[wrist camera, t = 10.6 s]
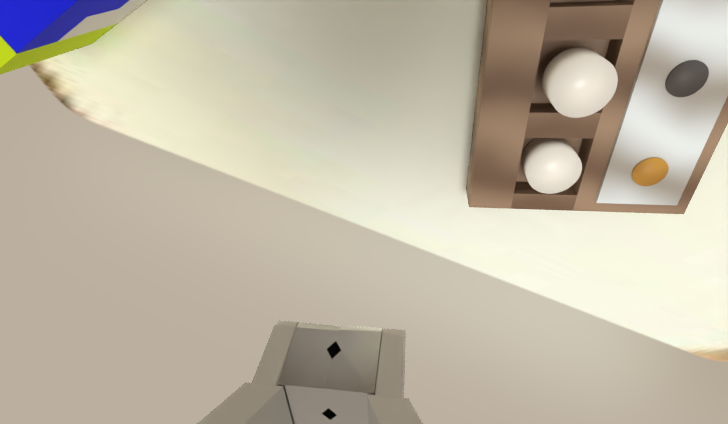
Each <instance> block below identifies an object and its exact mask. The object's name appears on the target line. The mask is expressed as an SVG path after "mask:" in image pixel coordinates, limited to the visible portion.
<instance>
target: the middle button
mask: <svg viewBox="0 0 728 424" xmlns="http://www.w3.org/2000/svg"><path fill="white" fill-rule="evenodd" d="M617 83H618V76H617V72H616V69H615V68H614V66H613V65H612V64H611V63H610V62H609V61H608V60H606V59H605V58H603V57H602V56H601V55H599V54H598V53H596V52H595V51H594V50H592V49H589V48H585V47H574V48H570V49H567V50H565V51H563V52H561V53H559V54H558V55H557V56H555V57H554V58H553V59H552V60H551V61H550V62H549V64H548V65H547V67H546V69H545V71H544V73H543V77H542V88H543V92H544V93H545V95H546V97H547V98H548V99H549V101H550V102H551V104H552V105H553V106H554V108H555V109H556V110H557V111H558V112H559V113H561V114H562V115H564V116H567V117H572V118H580V117H585V116H589V115H591V114H594V113H596V112H597V111H599V110H600V109H602V108H603V107H604V106H605V105H606V104H607V103H608V102H609V101H610V100H611V98H612V97H613V95H614V93H615V91H616V88H617Z"/></svg>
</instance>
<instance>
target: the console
mask: <svg viewBox="0 0 728 424" xmlns="http://www.w3.org/2000/svg"><path fill="white" fill-rule="evenodd" d="M574 47H585V48H589V49H592V50H594V51H595V52H596V53H598V54H599V55H601V56H602V57H603V58H605V59H606V60H608V61H609V62H610V63H611V64H612V65H613V66H614V68H615V69H616V72H617V76H618V83H617V88H616V91H615V93H614V95H613V97H612V98H611V100H610V101H609V102H608V103H607V104H606V105H605V106H604V107H603V108H602V109H600V110H599V111H597V112H596V113H594V114H591V115H589V116H585V117H580V118H572V117H567V116H564V115H562V114H561V113H559V112H558V111H557V110H556V109H555V108H554V106H553V105H552V104H551V102H550V101H549V99H548V98H547V97H546V95H545V93H544V92H543V88H542V77H543V73H544V71H545V69H546V67H547V65H548V64H549V62H550V61H551V60H552V59H553V58H554V57H555V56H557V55H558V54H559V53H561V52H563V51H565V50H567V49H570V48H574ZM727 123H728V0H488V1H487V10H486V19H485V27H484V36H483V45H482V54H481V63H480V72H479V81H478V90H477V99H476V108H475V117H474V125H473V134H472V143H471V152H470V161H469V170H468V179H467V188H466V190H467V197H468V204H469V207H483V208H513V209H544V210H574V211H605V212H635V213H666V214H684V213H685V210H686V208H687V206H688V204H689V202H690V200H691V198H692V196H693V194H694V192H695V190H696V188H697V186H698V184H699V181H700V179H701V177H702V175H703V173H704V171H705V169H706V167H707V165H708V163H709V161H710V159H711V157H712V154H713V152H714V150H715V148H716V146H717V144H718V142H719V140H720V138H721V136H722V134H723V132H724V130H725V128H726V125H727ZM536 138H565V139H566V140H567V141H568V142H569V143H570V144H571V146H572V147H573V149H574V150H575V152H576V153H577V155H578V156H579V158H580V160H581V163H582V171H581V175H580V177H579V179H578V180H577V181H576V182H575V183H574V184H573V185H572V186H571V187H570V188H568V189H566V190H564V191H562V192H559V193H553V194H546V193H541V192H538V191H536V190H535V189H533V188H532V187H531V186H530V184H529V183H528V180H527V178H526V175H525V173H524V170H523V168H522V165H521V156H522V153H523V151H524V149H525V147H526V146H527V145H528V144H529V143H530V142H531V141H533V140H534V139H536Z"/></svg>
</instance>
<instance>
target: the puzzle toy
mask: <svg viewBox="0 0 728 424" xmlns="http://www.w3.org/2000/svg"><path fill="white" fill-rule="evenodd" d="M146 1H147V0H0V74H3V73H6V72H9V71H12V70H15V69H18V68H21V67H24V66H27V65H30V64H33V63H36V62H39V61H42V60H45V59H48V58H51V57H54V56H57V55H60V54H63V53H66V52H69V51H72V50H75V49H78V48H81V47H84V46H87V45H90V44H92V43H93V42H95V41H96V40H97V39H99V38H100V37H101V36H102V35H104V34H105V33H106V32H107V31H109V30H110V29H111V28H113V27H114V26H115V25H116V24H118V23H119V22H120V21H121V20H123V19H124V18H125V17H127V16H128V15H129V14H130V13H132V12H133V11H134V10H135V9H137V8H138V7H139V6H141V5H142V4H143V3H144V2H146Z"/></svg>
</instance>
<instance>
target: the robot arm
mask: <svg viewBox="0 0 728 424" xmlns="http://www.w3.org/2000/svg"><path fill="white" fill-rule="evenodd" d="M404 374H405V330H396V329H383V328H373V327H357V326H333V325H323V324H313V323H303V322H292V321H291V322H290V321H280V320H279V321H278V322H277V323H276V325H275V326H274V328H273V330H272V333H271V335H270V338H269V340H268V343H267V346H266V348H265V351H264V353H263V356H262V358H261V361H260V363H259V366H258V368H257V371H256V374H255V376H254V378H253V381H252V383H244V384H243V385H242V386H241V387H240V388H239V389H238V390H236V391H235V392H234V393H233V394H231V395H230V396H229V397H228V398H227V399H226V400H224V401H223V402H222V403H221V404H220V405H219V406H217V407H216V408H215V409H214V410H213V411H211V412H210V414H208V415H207V416H206V417H205V418H203V419H202V420H201V421H200V422H199V423H197V424H423V423H422V421H421V419H420V418H419V416H418V414H417V412H416V411H415V409H414V407H413V405H412V404H411V402H410V400H409V398H404Z"/></svg>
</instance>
